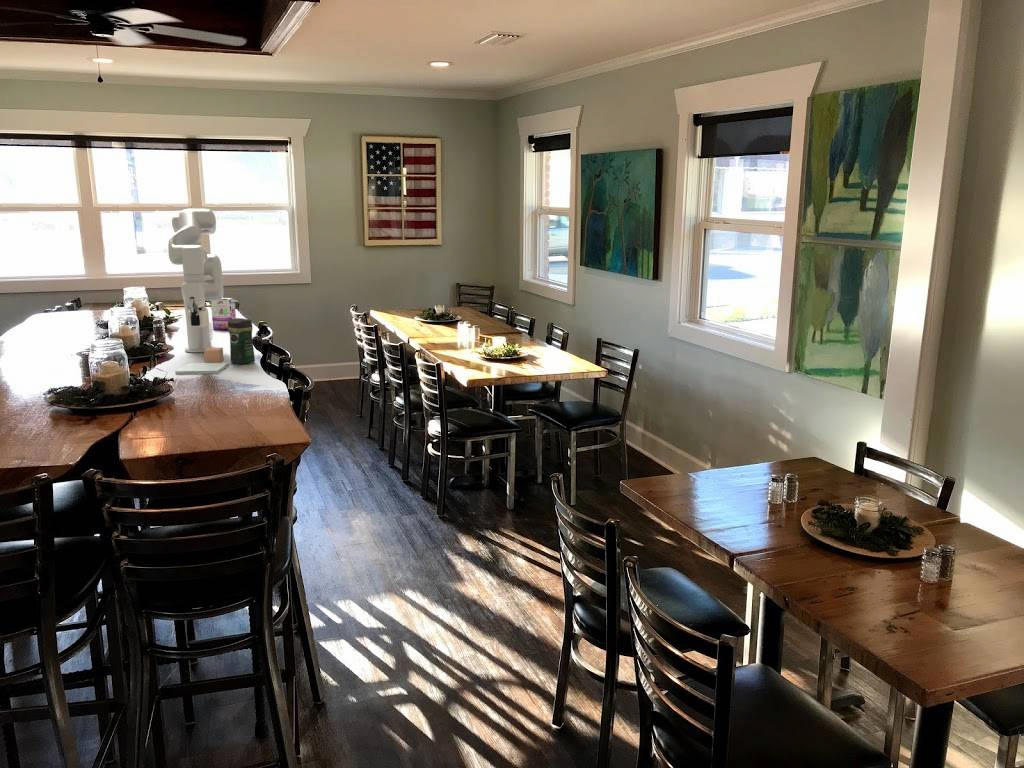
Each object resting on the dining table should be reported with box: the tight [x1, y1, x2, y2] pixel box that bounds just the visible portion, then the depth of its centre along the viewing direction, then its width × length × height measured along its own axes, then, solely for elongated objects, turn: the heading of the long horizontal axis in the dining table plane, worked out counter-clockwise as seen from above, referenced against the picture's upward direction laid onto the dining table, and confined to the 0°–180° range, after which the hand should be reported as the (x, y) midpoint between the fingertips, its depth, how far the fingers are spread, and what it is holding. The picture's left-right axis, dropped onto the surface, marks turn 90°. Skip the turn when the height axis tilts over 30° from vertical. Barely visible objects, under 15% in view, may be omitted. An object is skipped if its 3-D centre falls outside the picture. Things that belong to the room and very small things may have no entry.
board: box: [175, 362, 229, 375], centre depth 320 cm, size 16×16×1 cm
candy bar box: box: [210, 297, 237, 330], centre depth 419 cm, size 11×5×16 cm, turn 81°
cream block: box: [187, 309, 209, 327], centre depth 317 cm, size 6×6×6 cm
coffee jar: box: [227, 317, 256, 365], centre depth 333 cm, size 10×8×19 cm
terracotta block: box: [203, 347, 225, 363], centre depth 334 cm, size 6×6×6 cm
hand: (198, 324), depth 317 cm, fingers closed on cream block, 6 cm apart
